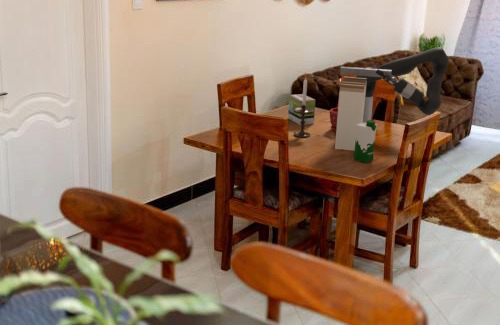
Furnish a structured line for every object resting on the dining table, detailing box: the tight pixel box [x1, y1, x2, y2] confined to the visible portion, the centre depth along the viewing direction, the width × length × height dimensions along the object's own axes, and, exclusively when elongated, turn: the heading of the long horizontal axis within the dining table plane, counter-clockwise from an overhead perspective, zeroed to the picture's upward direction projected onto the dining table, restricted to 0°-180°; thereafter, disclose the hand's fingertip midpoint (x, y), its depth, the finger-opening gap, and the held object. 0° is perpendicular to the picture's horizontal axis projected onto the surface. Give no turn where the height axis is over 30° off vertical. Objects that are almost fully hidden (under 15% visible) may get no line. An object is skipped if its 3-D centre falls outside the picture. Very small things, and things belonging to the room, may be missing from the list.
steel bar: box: [339, 66, 392, 77], centre depth 354 cm, size 26×4×4 cm, turn 77°
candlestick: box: [293, 72, 314, 139], centre depth 366 cm, size 11×11×35 cm
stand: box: [334, 76, 367, 151], centre depth 355 cm, size 12×24×34 cm, turn 168°
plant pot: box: [329, 107, 338, 132], centre depth 383 cm, size 13×13×12 cm
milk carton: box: [353, 119, 378, 164], centre depth 332 cm, size 9×9×20 cm
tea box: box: [287, 93, 316, 126], centre depth 397 cm, size 15×10×15 cm
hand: (376, 70), depth 352 cm, fingers closed on steel bar, 3 cm apart
